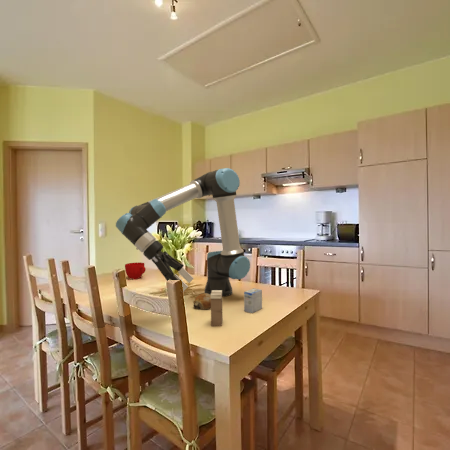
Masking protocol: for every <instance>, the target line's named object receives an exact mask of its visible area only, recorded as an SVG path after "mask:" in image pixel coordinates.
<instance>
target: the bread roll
mask: <svg viewBox="0 0 450 450" xmlns="http://www.w3.org/2000/svg"><path fill="white" fill-rule="evenodd" d="M192 303H193V304H192V305H193V308H194V309H195V310H200V311H201V310H204V311H207V310H211V295H210V294H208V293H205V292H203V293H200V294H198V295H196V297H195V298H194V300H193V301H192Z"/></svg>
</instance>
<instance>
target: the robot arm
mask: <svg viewBox="0 0 450 450" xmlns="http://www.w3.org/2000/svg"><path fill="white" fill-rule="evenodd" d="M240 184H241V182H240V177H239V175H238V174H237V172H236V171H235V170H233V169H232V168H229V167H225V168H219V169H216V170H212V171H208V172H206V173H204V174H203V175H200V176H198V177H197V178H195V179H193V180H191V181H190V182H189V184H186V185H184V186H182V187H178V188H177V189H174V190H172V191H170V192H167V193H165V194H163V195H160V196H158V197H155V198H152V199H150V200H148V201H146V202H143V203H141V204H139V205H134V206H132V207H130V209H129V211H128V212H126V213H124V214H122V215H121V216H120V217H119V218H118V219H117V220H116V221H115V227H116V229H117V230H118V231H119V232H120V233H121V235H122V236H124V237H125V238H126V239H127V240H128V241H129V242H130V243H131V244H132V245H133V246H134V247H136V250H139V252H141V253H142V254H143V256H144V257H146V258H147V260H150V261H151V262H153V264H154V265H155V266H156V267H157V269H158V270H159V272H160V273H161V275H162V276H163V277H164V278H165V280H166V281H168V280H169V281H171V280H181V281H182V287H183V292H185V291H186V289H187V288H189V285H188V284H186V283H185V282H184V281H183V280H182V278H183V279H184V280H185V281H186V282H187V283H189V284H190V283H191V282H192V281H193V280H194V279H195V278H194V277H193V276H192V275H191V274H190V273H189V272H188V271H187V270H186V269H185V268H184V264H183V263H181V262H179V260H177V259H175V257H173V256H171V255H170V254H169V253H168V252H167V251H165V250H164V249H163V248H164V245H163V244H162V243H161V242H160V241H159V240H157V238H156V237H155V236H154V235H152V233H151V232H150V231H149V230H148V229H149V228H150V227H152V226H153V224H155V223H156V222H157V221H158V220H160V219H161V218H163V216H164V215H165V214H166V212H168V211H171V210H172V209H175V208H176V207H179V206H181V205H183V204H186V203H187V202H190V201H193V200H194V199H201V198H205V197H207V196H211V197H212V200H213V201H215V202H216V207H217V215H218V222H219V229H220V230H219V231H220V236H221V237H220V238H221V244H222V250H217V251H208V252H207V255H206V266H207V267H206V269H207V280H206V284H205V287H204V289H203V290H204V292H203V293H208V294H210V295H211V292H212V290H222V298H224V297H229V296H231V295H233V287H232V284H231V280H230V279H232V280H242V279H244V278H246V276H247V275H248V273H249V271H250V268H251V262H250V259H249V258H248V257H247V256H245V250H244V249H243V248H242V247H241V245H240V244H241V243H240V236H239V229H238V220H237V214H236V212H237V211H236V206H235V199H236V197H237V190H238V189H239V187H240V186H241V185H240ZM162 250H164V252H163V251H162ZM172 269H174V271H177V273H178V274H179V275H180V276H181V277H182V278H180V276H179V275H177V274H176V273H174V272H173V270H172Z"/></svg>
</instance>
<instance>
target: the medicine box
mask: <svg viewBox="0 0 450 450" xmlns="http://www.w3.org/2000/svg"><path fill="white" fill-rule="evenodd" d="M243 302H244V303H243V306H244V307H243V309H244V312H246V313H249V314H253V313H256V312H258V311H260V310H261V309H262V308H263V289H259V288H252V289H248V290H246V291H244V292H243Z"/></svg>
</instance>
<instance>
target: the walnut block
mask: <svg viewBox="0 0 450 450" xmlns="http://www.w3.org/2000/svg"><path fill="white" fill-rule="evenodd" d="M210 326H211V327H223V297H222V290H212V292H211V309H210Z"/></svg>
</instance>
